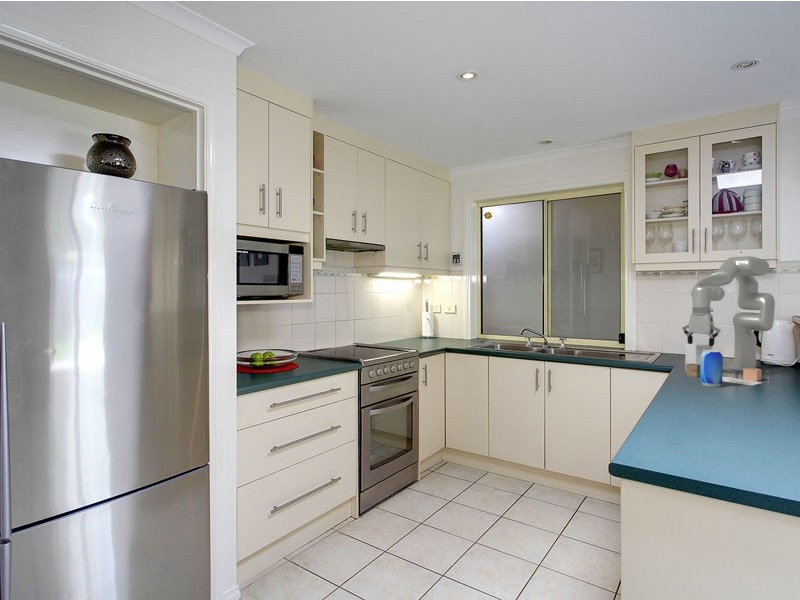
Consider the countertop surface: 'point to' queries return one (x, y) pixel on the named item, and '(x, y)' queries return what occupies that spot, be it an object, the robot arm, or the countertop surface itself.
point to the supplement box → (695, 353)
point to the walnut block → (693, 370)
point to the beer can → (711, 368)
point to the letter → (740, 381)
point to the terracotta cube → (752, 374)
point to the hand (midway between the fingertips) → (700, 344)
